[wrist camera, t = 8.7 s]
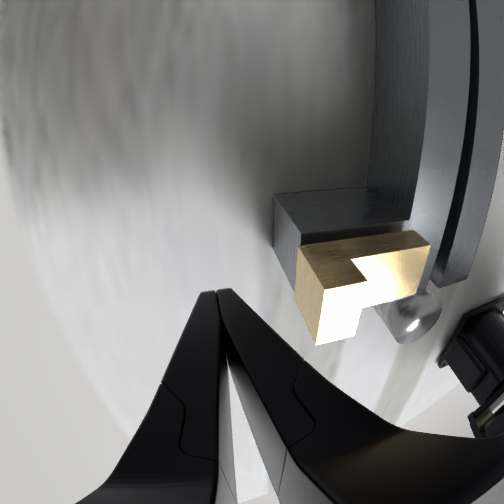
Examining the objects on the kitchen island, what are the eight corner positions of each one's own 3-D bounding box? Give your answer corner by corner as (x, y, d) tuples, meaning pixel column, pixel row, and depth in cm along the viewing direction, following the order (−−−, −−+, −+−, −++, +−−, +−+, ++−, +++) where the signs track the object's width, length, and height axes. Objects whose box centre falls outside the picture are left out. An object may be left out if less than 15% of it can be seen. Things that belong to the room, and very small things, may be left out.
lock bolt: (413, 229, 10) (450, 262, 8) (401, 277, 11) (430, 312, 9) (297, 245, 9) (324, 290, 7) (294, 299, 10) (315, 345, 8)
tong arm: (437, -85, 5) (482, -95, 2) (418, 294, 17) (447, 329, 14) (366, -114, 4) (408, -137, 2) (363, 310, 16) (390, 351, 14)
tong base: (401, -101, 5) (445, -119, 2) (390, 255, 15) (426, 294, 12) (262, -137, 4) (287, -176, 1) (273, 275, 14) (295, 326, 11)
